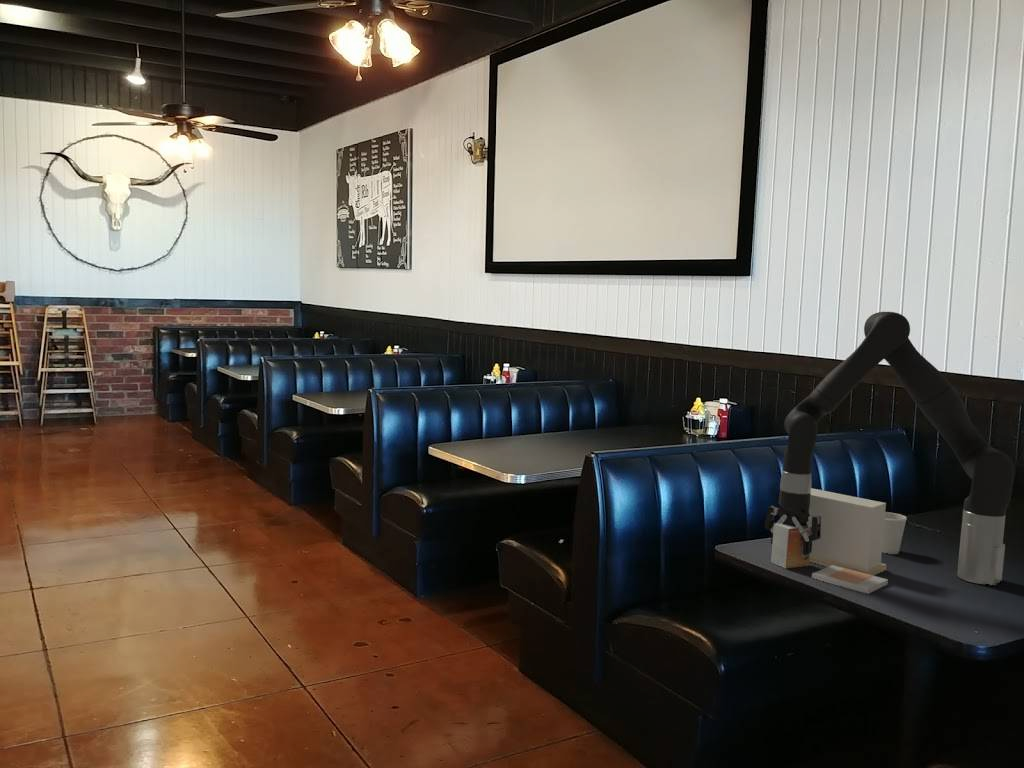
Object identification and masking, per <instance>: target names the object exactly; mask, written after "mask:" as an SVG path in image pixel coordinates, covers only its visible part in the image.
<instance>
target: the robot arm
mask: <svg viewBox="0 0 1024 768" xmlns="http://www.w3.org/2000/svg"><path fill="white" fill-rule="evenodd" d="M863 332H864V337H865V338H864V339H863V340H862V342H861V343H860V344H859V346H858V347H857V348H856V349H855V350H854V351H853V352H852V353H850V355H849V356H848V357H847V358H846V359H845V360H844V361H842V362H841V363H839V364H838V365H837V366H836V367H834V368H833V369H832V370H831V371H830V372H829V373H828V374H827V375H826V376H825V377H824V378H823V379H822V380H821V381H820V382H819V384H818V385H816V387H815V388H814V389H813V390H812V391H811V393H810V394H808V396H807V397H805V398H804V399H803V400H802V401H801V402H799V403H798V404H797V405H796V406H795V407H794V408H793V409H791V411H790V412H789V413H788V414H787V416H786V417H785V419H784V422H783V423H784V425H783V426H784V430H785V432H786V433H787V445H786V446H787V447H786V450H784V453H783V461H782V472H781V475H780V476H781V477H780V483H779V498H778V505H779V506H778V507H776V506H775V505H770V506H768V507H767V508H766V513H765V514H766V515H765V521H764V528H765V530H769V531H770V532H771V535H770V544H771V545H772V544H773V531H774V524H775V517H776V515H777V516H778V518H779V519H778V520H777V522H776V523H777V524H786V525H790V526H795V527H797V528H798V530H799V532H800V533H801V534H802V536H803V537H804V539H805V541H804V546H803V555H809V553H811V551H812V542H813V541H815V540H818V539H820V537H821V517H820V516H816V517H815V516H810V515H809V508H810V496H811V488H812V484H813V483H812V470H813V469H812V468H813V455H814V451H815V448H816V447H815V446H816V441H817V437H818V424H817V423H819V421H821V420H822V419H823V418H824V417H825V416H826V415H829V414H831V413H832V412H834V411H835V410H836V409H837V407H838V406H839V405H840V404H841V403H842V402H843V401H844V400H845V399H846V398H847V397H848V396H849V394H850V393H852V391H853V390H854V389H855V388H856V387H857V386H858V385H859V384H860V382H861V381H863V379H864V378H865V377H866V376H867V375H868V374H869V373H870V372H871V371H872V370H874V369H875V367H877V365H879V363H881V362H882V361H883V360H885V361H886V362H887V364H888V365H889V367H891V369H892V370H893V371H894V373H895V374H896V376H897V377H898V379H899V381H900V382H901V384H902V385H903V387H904V389H905V390H906V391H907V393H908V395H910V397H911V398H912V400H913V402H914V403H915V405H916V406H917V407H918V408H919V410H920V412H922V414H923V415H924V416H925V418H926V419H927V420H928V422H929V423H931V425H932V426H933V428H935V430H936V431H937V432H938V433H939V434H940V435H941V436H942V437H943V439H945V441H946V442H947V443H948V445H949V446H950V448H951V450H952V451H953V453H954V454H955V456H956V458H957V460H958V461H959V463H960V465H961V467H962V469H963V471H964V472H965V474H967V476H968V477H969V478H970V479H971V485H970V486H971V487H970V492H969V496H967V497H966V498H965V499H964V500H963V501H964V503H963V510H962V521H961V531H960V542H959V554H958V562H957V563H958V564H957V577H958V578H959V579H961V580H964V581H965V582H966V581H967V582H970V583H972V584H973V583H974V584H979V585H986V584H989V585H988V586H992V585H994V586H996V585H998V584H999V583H1000V581H1001V582H1002V580H1003V571H1004V570H1003V568H1004V562H1005V561H1004V560H1005V551H1006V544H1005V543H1003V542H1004V534H1005V533H1004V532H1005V522H1006V514H1007V508H1008V506H1009V505H1010V502H1011V499H1012V492H1013V486H1014V480H1015V479H1014V477H1015V476H1014V475H1015V467H1014V464H1013V463H1014V462H1013V460H1012V459H1011V458H1010V456H1009V455H1008V454H1006V453H1004V452H1003V451H1000V450H998V449H995V448H994V447H993V446H992V445H991V444H989V442H988V441H986V439H985V438H984V437H983V436H982V435H981V434H980V432H978V431H979V430H977V428H975V426H974V424H973V423H972V420H971V418H970V416H969V414H968V410H967V408H966V405H965V403H964V401H963V400H962V398H961V396H960V395H959V393H958V392H957V391H956V389H955V388H954V387H953V385H952V384H951V383H950V380H948V379H947V378H946V376H945V375H943V373H942V372H941V371H940V370H938V368H936V367H935V366H934V365H933V364H932V363H931V362H929V361H928V360H927V359H926V358H925V357H924V356H923V355H922V354H921V353H920V352H919V351H918V350H917V348H916V347H915V345H914V344H913V343H912V341H911V340H910V339H909V336H910V333H911V326H910V322H909V320H908V318H906V317H905V316H904V315H903V314H901V313H898V312H895V311H879V312H875V313H873V314H871V315H870V316H869V317H868V318H867V319H866V321H865V323H864V326H863ZM808 521H810V524H811V525H812V533H811V532H810V528H809V526H808V524H807V522H808ZM803 526H806V527H807V528H805V529H804V528H803ZM997 583H998V584H997Z"/></svg>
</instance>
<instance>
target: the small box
mask: <svg viewBox="0 0 1024 768" xmlns="http://www.w3.org/2000/svg"><path fill="white" fill-rule="evenodd" d="M803 528H804V529H805V528H807V527H806V526H803ZM809 528H810V532H811V533H812V527H811V526H809ZM804 541H805V539H804V537H803V536H802V534H801V533H800V532H799V530H798V528H797V527H795V526H790V525H786V524H777V522H775V523H774V531H773V544H771V546H772V548H771V558H770V559H771V560H770V563H771V562H772V563H771V564H774V565H776V566H779V567H780V568H784V569H792V568H803V566H807V567H809V565H810V562H809V558H810V553H809V555H803V546H804Z"/></svg>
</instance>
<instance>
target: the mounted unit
mask: <svg viewBox="0 0 1024 768" xmlns="http://www.w3.org/2000/svg"><path fill="white" fill-rule="evenodd" d="M886 507H887V503H886V502H884V501H883V502H882V501H877V500H871V499H868V498H863V497H862V498H861V497H856V496H852V495H847V494H842V493H836V492H832V491H827V490H823V489H816V488H812V487H811V496H810V508H809V515H810V516H815V517H816V516H820V517H821V537H820V539H818V540H815V541H813V542H812V551H811V553H810V558H809V563H811V562H812V563H811V564H814V563H816V564H815V565H818V564H819V566H822V565H823V566H822V567H825V568H827V567H829V566H831V565H835V566H839V567H842V568H846V569H850V570H854V571H858V572H861V573H865V574H869V575H873V576H877V575H878V573H879V574H881V573H883V572H885V571H887V564H886V563H882V556H883V555H882V554H883V553H882V544H883V532H884V520H885V512H886V509H887V508H886ZM807 524H808V526H811V527H812V525H811V524H810V521H808V522H807ZM884 570H885V571H884ZM880 572H881V573H880ZM876 574H877V575H876Z"/></svg>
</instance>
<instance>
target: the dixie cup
mask: <svg viewBox="0 0 1024 768" xmlns="http://www.w3.org/2000/svg"><path fill="white" fill-rule="evenodd" d="M907 520H908V518H907V516H906V515H903V514H901V513H894V512H889V511H885V520H884V532H883V544H882V552H883V553H882V554H886V553H888V554H887V555H897V554H899V552H900V548H901V543H902V539H903V535H904V530H905V528H906V527H905V526H906V521H907Z"/></svg>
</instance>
